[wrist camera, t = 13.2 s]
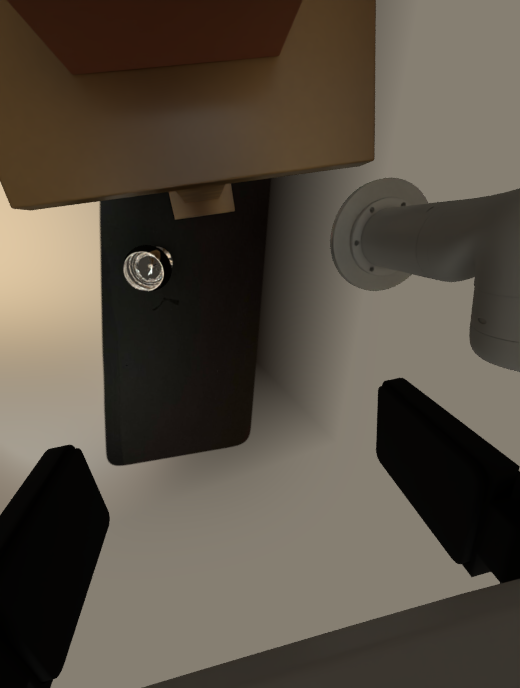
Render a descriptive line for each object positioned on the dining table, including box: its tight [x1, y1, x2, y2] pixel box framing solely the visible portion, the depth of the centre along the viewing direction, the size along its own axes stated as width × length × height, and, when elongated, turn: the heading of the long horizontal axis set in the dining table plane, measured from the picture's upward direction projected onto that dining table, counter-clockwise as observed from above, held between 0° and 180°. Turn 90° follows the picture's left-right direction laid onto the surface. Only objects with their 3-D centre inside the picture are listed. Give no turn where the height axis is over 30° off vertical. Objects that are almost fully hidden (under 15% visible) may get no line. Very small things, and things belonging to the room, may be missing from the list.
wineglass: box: [123, 245, 173, 291], centre depth 41 cm, size 6×6×12 cm
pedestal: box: [0, 0, 376, 220], centre depth 25 cm, size 10×10×41 cm
